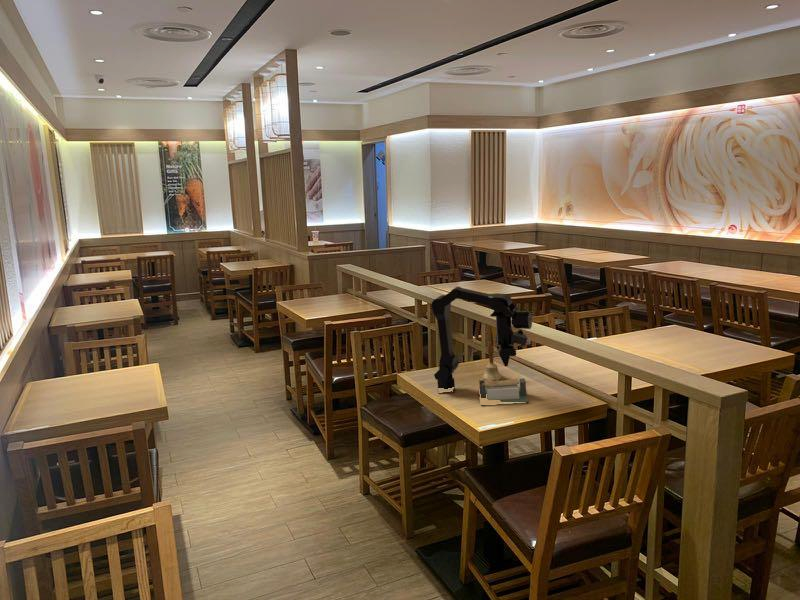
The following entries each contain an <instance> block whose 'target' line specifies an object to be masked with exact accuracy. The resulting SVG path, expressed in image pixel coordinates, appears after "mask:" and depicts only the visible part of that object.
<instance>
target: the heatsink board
mask: <svg viewBox="0 0 800 600" xmlns="http://www.w3.org/2000/svg"><path fill="white" fill-rule="evenodd" d="M478 382H479V383H478V384H479V389H480V394H481V398H486V394H487V399H488V400H500V401H501V402H528V403H529V399H528V397H527V386H526V385H527V381H526V380H525V377H524V378H523V377H522V378H519V385H518V384H513V385H504V386H494V387H485V385H482V383H485V380H484V379H482V380H479V381H478Z"/></svg>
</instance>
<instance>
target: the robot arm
mask: <svg viewBox="0 0 800 600" xmlns="http://www.w3.org/2000/svg"><path fill="white" fill-rule="evenodd" d="M457 299H458V300H463V301H465V302H466V301H467V302H471V303H474V304H475V303H476V304H479V305H483V306H486V307H488V308H490V309H491V310H493V312H492V313H490V317H491V318H492V317H493V318H494V317H495V323H496V324H495V326H496V329H495V332H496V335H495V336H494V342H495V344H497V346H496V350H497V352H498V356H499V357H500V360H501V361H502V364H503V365H504V367H508V366H509V362H510V361H509V360H510V357H515V356H517V350H516V347H515V346H513V345H515V344H516V345H521V346H522V347H526V345H527V341H528V339H529V338H528V335H527V334H526V333H524V331H523V330H531V328H532V326H533V317H532V314H531V310H519V309H518V307H517V306H516V304H515V303H514V302H513V299H512V297H511V296H510V295H509V294H508V293H486V292H482V291H478V290H477V291H476V290H473V289H468V288H463V287H461V286H455V287H454V288H452V289H451V290H450V291H449V292H448V293H446V294H445V295H444V294H440V295H439V296H438V297H436V298H434V299H433V301H431V303H430V304H431V305H430V306H431V311H432V313H433V315H434V318H435V319H436V322H437V323H436V324H437V330H438V339H439V345H440V358H439V361H438V363H439V364H438V370H437V371H436V372H435V373H434V374H433V376H434V379H435V380H437V389H438V388H444V389H448V388H452V387H455V388H456V386H455V385H456V384H455V378H454V377H453V374H454V373H455V371H456V370H457V369H458V367H459V365H460V361H459V354H455V353H454V351H453V343H452V336H451V327H450V312H451V310H452V309H451V308H452V307H451V305H452V302H454V301H455V300H457ZM513 328H515V329H518V330H516V331H513Z"/></svg>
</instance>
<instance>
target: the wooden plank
mask: <svg viewBox="0 0 800 600" xmlns="http://www.w3.org/2000/svg"><path fill="white" fill-rule="evenodd" d="M484 382H485V381H484ZM513 384H517V385H518V384H519V385H520V380H519V379H518V378H515V379H506V380H497V381H486V382H485V383H482V385H485V388H486V387H494V386H504V385H513Z"/></svg>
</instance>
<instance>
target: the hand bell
mask: <svg viewBox="0 0 800 600" xmlns="http://www.w3.org/2000/svg"><path fill="white" fill-rule="evenodd" d="M486 348H487V354H488V356H489V357H488V362H489V363H488V364H487V365H486V368H485V369H486V370H485V372H484V374H483V375H482V379H483V378H485V379H487V380H497V381H500V380H501V379H502V378H503V374H501V373H500V372H499V369H498V365H497V364H496V363H494V362H495V361H494V357H493V356H494V346H493V343H492V341H488V342H487V347H486ZM499 379H500V380H499ZM487 380H486V381H487Z"/></svg>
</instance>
